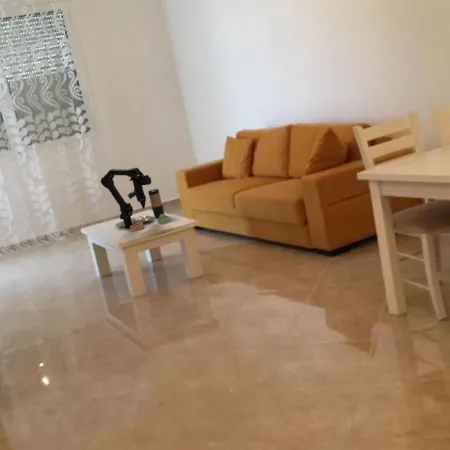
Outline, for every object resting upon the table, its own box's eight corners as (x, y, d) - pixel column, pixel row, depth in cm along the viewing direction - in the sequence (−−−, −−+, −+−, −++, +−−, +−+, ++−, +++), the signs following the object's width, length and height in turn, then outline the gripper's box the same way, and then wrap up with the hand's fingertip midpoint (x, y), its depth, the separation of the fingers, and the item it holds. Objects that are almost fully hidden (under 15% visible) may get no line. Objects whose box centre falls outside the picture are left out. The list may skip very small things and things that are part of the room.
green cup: (156, 223, 485) (155, 219, 485) (166, 219, 489) (165, 215, 489) (161, 224, 478) (160, 219, 478) (171, 220, 483) (170, 216, 482)
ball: (159, 221, 485) (157, 215, 484) (165, 219, 487) (163, 213, 486) (162, 222, 480) (160, 215, 479) (168, 220, 483) (166, 213, 482)
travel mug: (154, 217, 505) (148, 190, 501) (164, 214, 506) (158, 188, 501) (154, 219, 498) (148, 192, 493) (165, 217, 498) (158, 190, 494)
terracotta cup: (129, 229, 483) (128, 225, 482) (139, 226, 487) (138, 222, 486) (134, 231, 476) (133, 226, 475) (145, 227, 480) (144, 223, 479)
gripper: (125, 186, 490) (131, 208, 494) (127, 190, 472) (132, 212, 476) (141, 183, 492) (146, 204, 496) (143, 186, 474) (148, 208, 478)
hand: (143, 207), depth 486 cm, fingers open, 9 cm apart
